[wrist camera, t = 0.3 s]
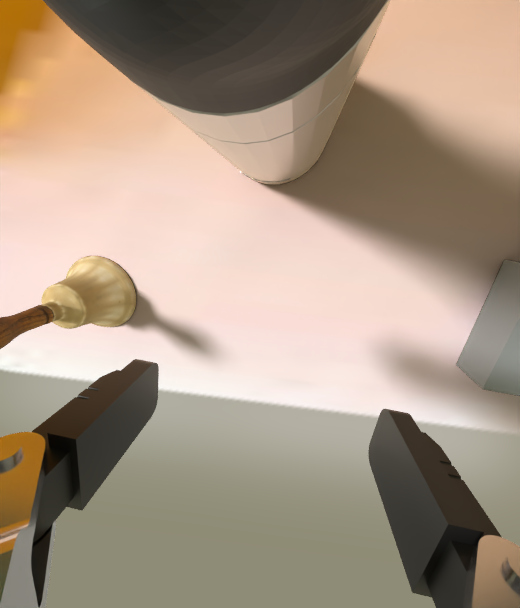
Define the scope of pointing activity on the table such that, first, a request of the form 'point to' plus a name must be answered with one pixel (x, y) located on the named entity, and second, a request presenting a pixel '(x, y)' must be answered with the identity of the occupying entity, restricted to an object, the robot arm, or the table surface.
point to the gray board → (497, 336)
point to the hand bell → (79, 300)
